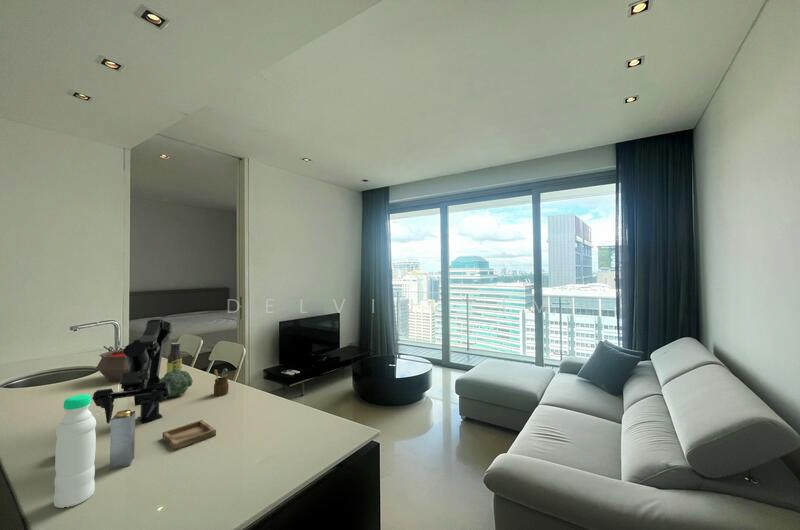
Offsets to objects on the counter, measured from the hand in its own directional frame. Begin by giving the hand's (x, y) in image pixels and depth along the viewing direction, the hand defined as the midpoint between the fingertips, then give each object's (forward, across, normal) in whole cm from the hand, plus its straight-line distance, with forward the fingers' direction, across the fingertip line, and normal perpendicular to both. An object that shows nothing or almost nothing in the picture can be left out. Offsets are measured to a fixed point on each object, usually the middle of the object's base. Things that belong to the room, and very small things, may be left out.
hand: (127, 419), depth 98 cm
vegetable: (-30, +4, +46) cm, 55 cm away
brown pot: (-59, -23, +74) cm, 98 cm away
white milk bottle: (+21, -6, -5) cm, 22 cm away
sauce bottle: (-45, +1, +60) cm, 75 cm away
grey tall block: (+11, 0, +5) cm, 12 cm away
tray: (+4, +16, +12) cm, 20 cm away
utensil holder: (-24, +23, +40) cm, 52 cm away
